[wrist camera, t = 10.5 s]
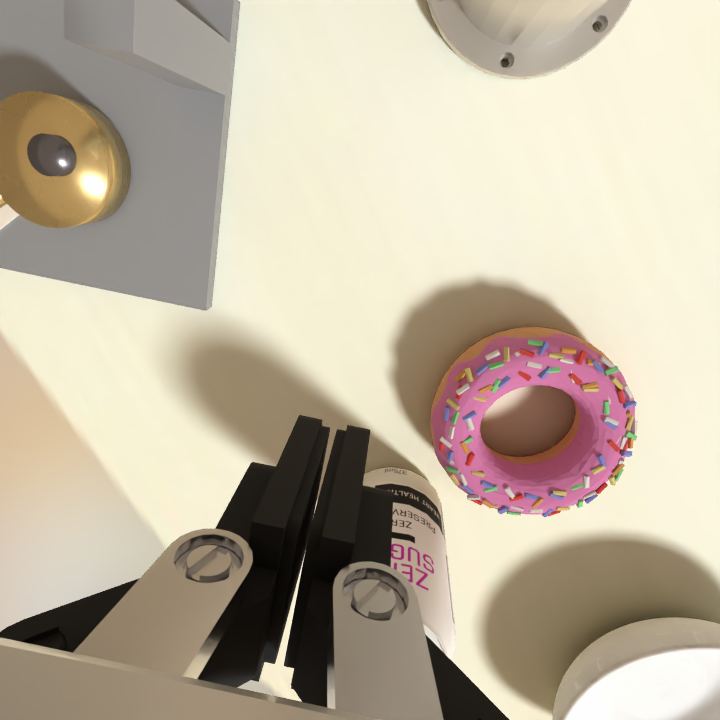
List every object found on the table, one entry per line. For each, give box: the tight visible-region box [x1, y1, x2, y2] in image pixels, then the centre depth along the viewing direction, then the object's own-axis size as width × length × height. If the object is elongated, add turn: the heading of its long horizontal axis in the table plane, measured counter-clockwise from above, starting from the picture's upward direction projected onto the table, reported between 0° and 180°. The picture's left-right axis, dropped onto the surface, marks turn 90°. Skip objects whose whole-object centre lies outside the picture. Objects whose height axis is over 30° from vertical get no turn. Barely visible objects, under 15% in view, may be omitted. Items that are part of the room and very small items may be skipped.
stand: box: [0, 0, 240, 310], centre depth 30 cm, size 20×17×13 cm
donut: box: [430, 327, 637, 517], centre depth 38 cm, size 14×14×5 cm
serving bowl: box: [553, 617, 720, 720], centre depth 44 cm, size 21×21×7 cm
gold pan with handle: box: [0, 91, 131, 228], centre depth 34 cm, size 16×8×4 cm, turn 112°
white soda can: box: [363, 467, 456, 659], centre depth 37 cm, size 8×8×15 cm
